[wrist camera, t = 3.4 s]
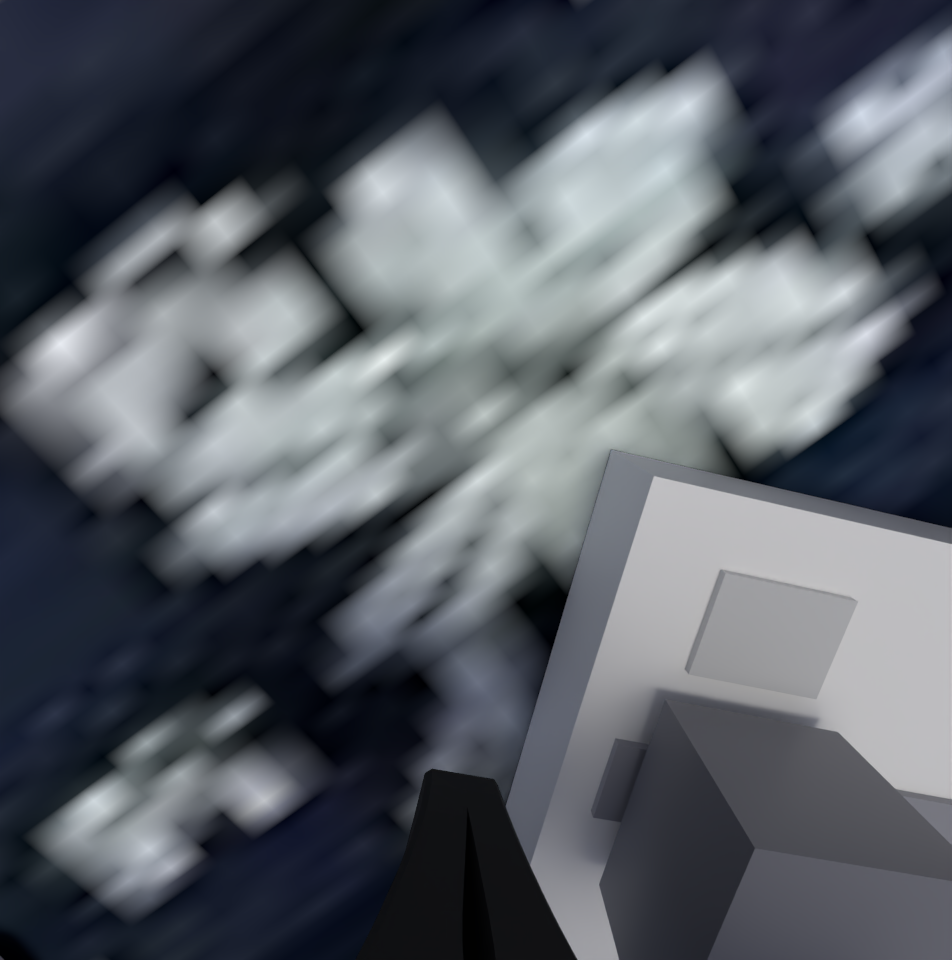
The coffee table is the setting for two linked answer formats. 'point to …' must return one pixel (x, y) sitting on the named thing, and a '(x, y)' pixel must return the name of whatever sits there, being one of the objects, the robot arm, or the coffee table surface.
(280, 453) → the coffee table surface
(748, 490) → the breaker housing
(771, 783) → the switch lever
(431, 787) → the robot arm
